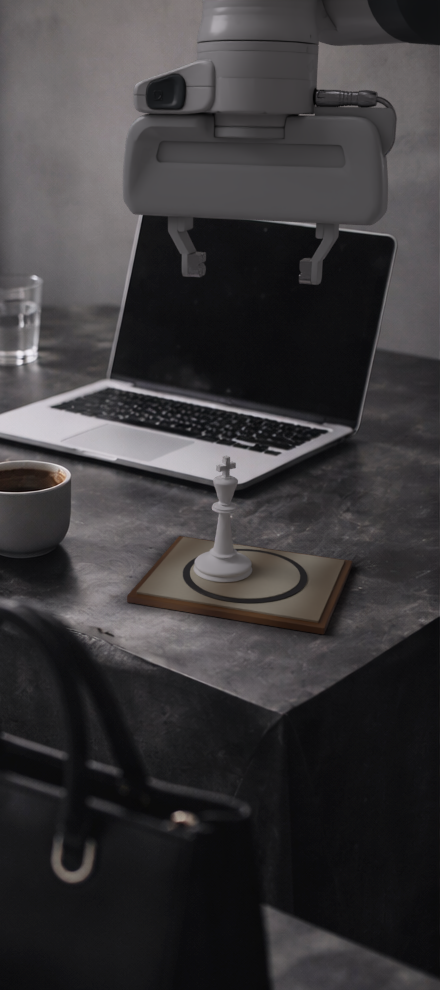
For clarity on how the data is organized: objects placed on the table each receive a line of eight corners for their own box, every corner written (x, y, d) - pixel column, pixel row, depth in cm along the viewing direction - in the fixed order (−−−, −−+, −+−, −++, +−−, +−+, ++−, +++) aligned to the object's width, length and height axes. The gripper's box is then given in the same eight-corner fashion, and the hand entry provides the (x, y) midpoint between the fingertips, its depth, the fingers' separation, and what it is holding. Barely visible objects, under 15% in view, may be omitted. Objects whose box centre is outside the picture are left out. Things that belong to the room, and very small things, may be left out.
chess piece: (181, 567, 82) (183, 454, 79) (226, 553, 85) (229, 443, 82) (219, 588, 79) (222, 470, 75) (264, 572, 82) (269, 459, 78)
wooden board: (352, 566, 86) (353, 556, 85) (324, 635, 74) (324, 623, 74) (179, 541, 90) (179, 531, 89) (126, 602, 78) (126, 591, 78)
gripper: (404, 91, 72) (389, 281, 77) (142, 88, 77) (144, 266, 82) (393, 89, 66) (378, 294, 71) (112, 86, 71) (116, 277, 76)
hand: (251, 279), depth 77 cm, fingers open, 8 cm apart
